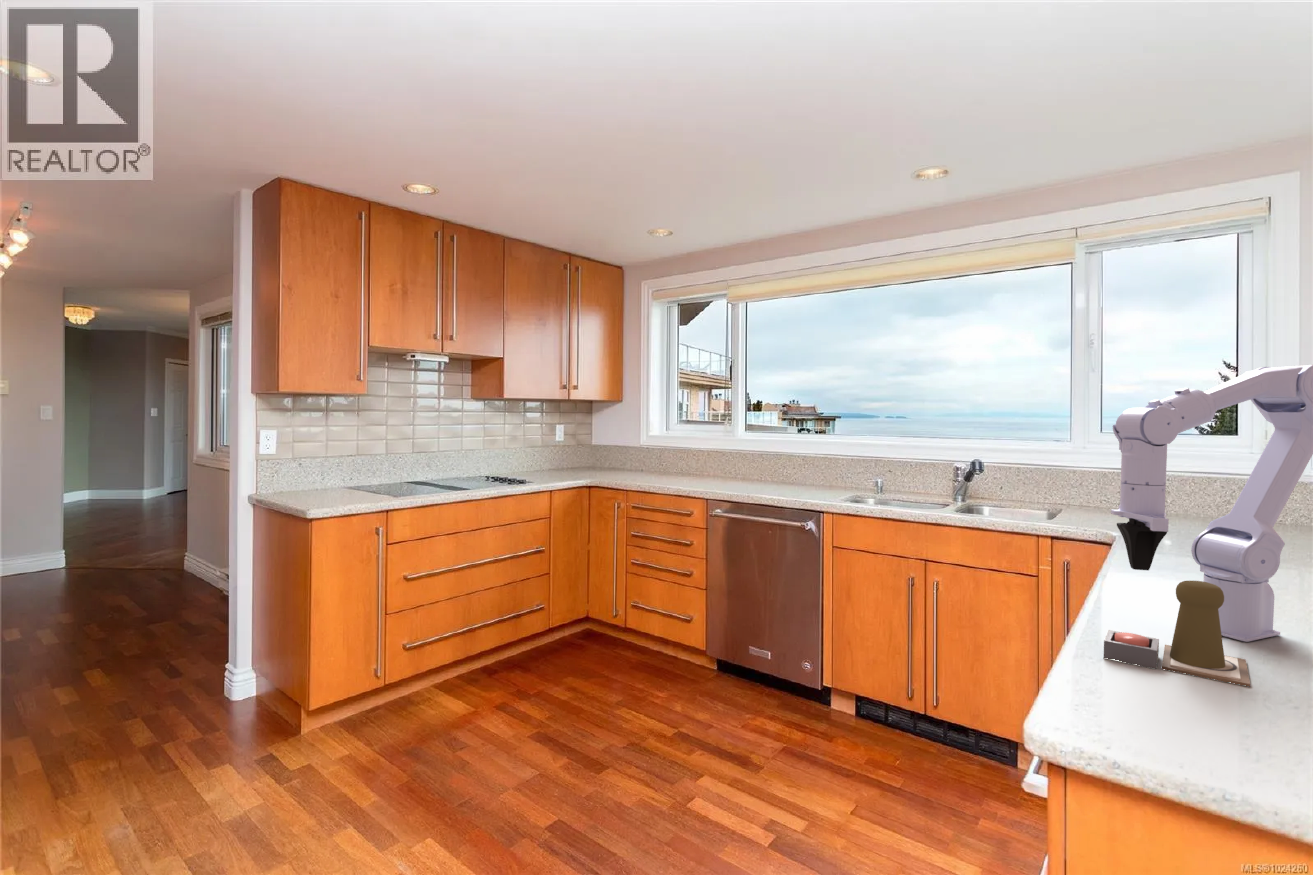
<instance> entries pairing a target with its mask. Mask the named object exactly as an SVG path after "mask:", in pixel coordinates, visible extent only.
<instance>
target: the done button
mask: <svg viewBox="0 0 1313 875" xmlns="http://www.w3.org/2000/svg"><path fill="white" fill-rule="evenodd" d="M1119 632H1120V633H1115V641H1116V642H1121V643H1127V644H1132V645H1137V646H1143V647H1148V648H1149V639H1148V638H1146V637H1147V636H1145V637H1144V635H1141V634H1137V633H1133V632H1122V631H1119Z"/></svg>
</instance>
